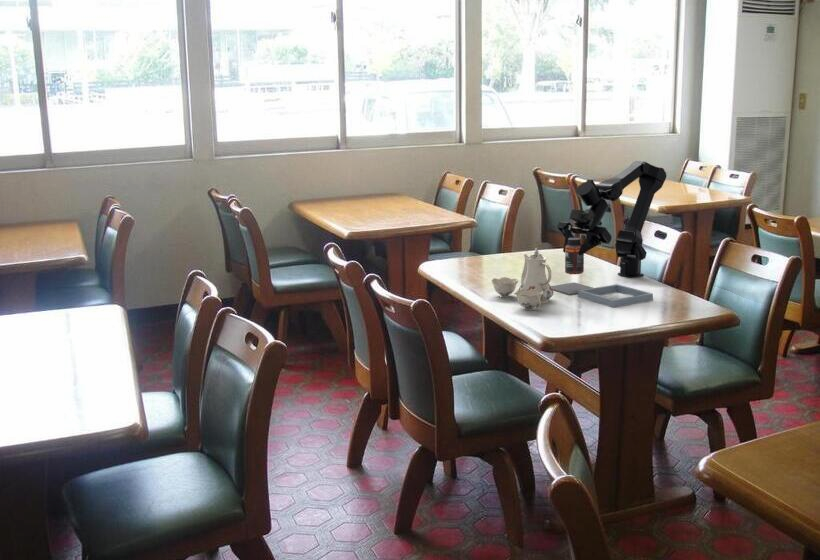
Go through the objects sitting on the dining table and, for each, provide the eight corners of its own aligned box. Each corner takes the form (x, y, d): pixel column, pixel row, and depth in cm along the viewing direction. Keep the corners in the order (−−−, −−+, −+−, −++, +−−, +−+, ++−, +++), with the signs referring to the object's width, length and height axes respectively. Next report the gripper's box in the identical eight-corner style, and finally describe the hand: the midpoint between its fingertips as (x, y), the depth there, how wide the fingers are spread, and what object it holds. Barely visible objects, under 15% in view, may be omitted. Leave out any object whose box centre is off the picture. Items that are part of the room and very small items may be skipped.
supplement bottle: (586, 272, 290) (587, 237, 287) (579, 275, 285) (579, 240, 282) (569, 270, 293) (569, 236, 290) (561, 273, 288) (562, 239, 285)
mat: (574, 283, 298) (574, 282, 298) (598, 290, 288) (598, 289, 288) (545, 288, 293) (545, 286, 293) (569, 295, 283) (569, 293, 282)
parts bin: (616, 290, 288) (616, 284, 288) (652, 300, 274) (652, 293, 274) (578, 296, 280) (578, 290, 280) (613, 307, 267) (613, 300, 266)
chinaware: (482, 299, 286) (478, 249, 282) (527, 288, 292) (523, 239, 288) (528, 320, 261) (523, 265, 256) (576, 307, 267) (572, 254, 263)
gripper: (560, 197, 293) (537, 234, 288) (606, 202, 279) (583, 241, 275) (575, 217, 300) (553, 255, 295) (621, 223, 286) (599, 262, 281)
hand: (571, 253), depth 286 cm, fingers closed on supplement bottle, 6 cm apart
